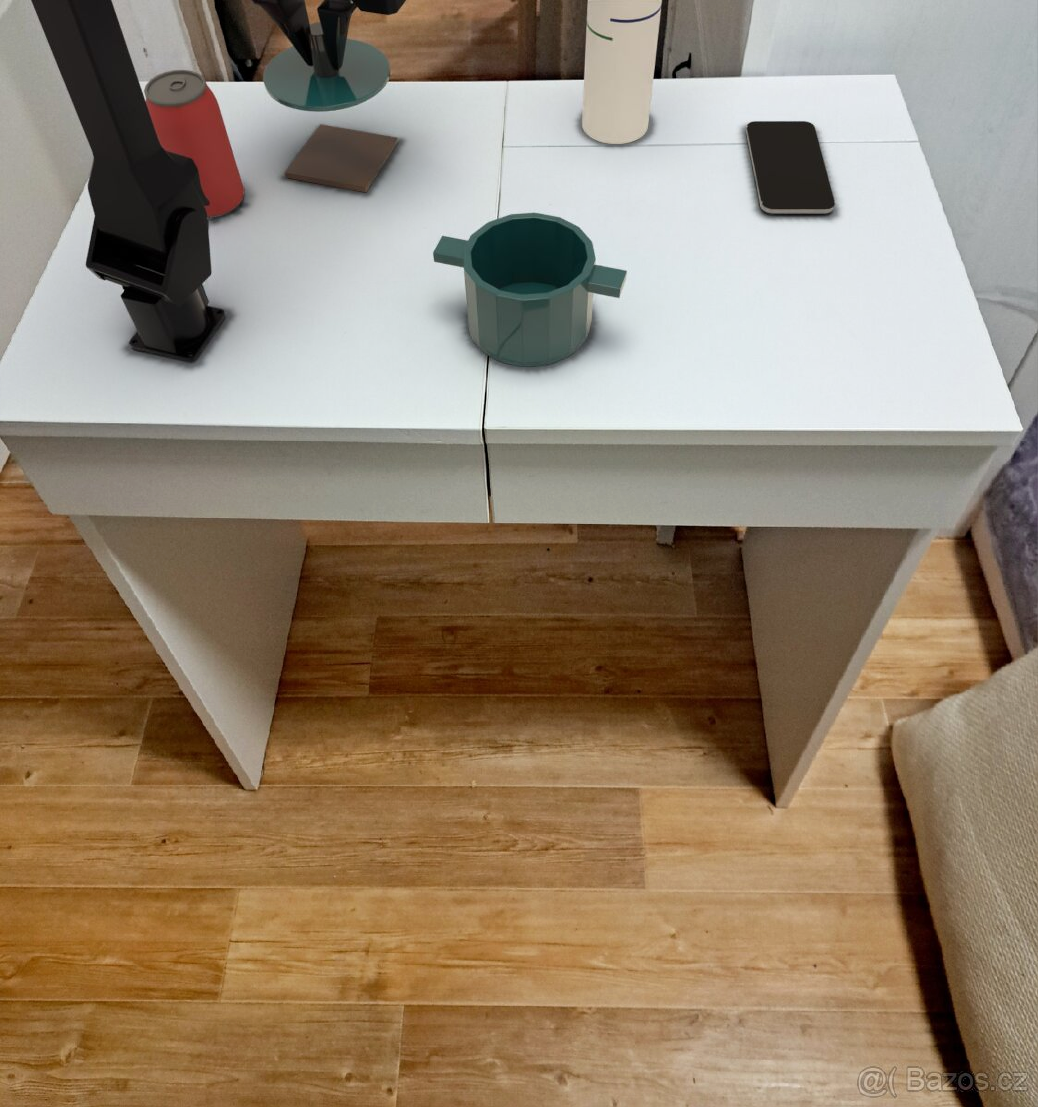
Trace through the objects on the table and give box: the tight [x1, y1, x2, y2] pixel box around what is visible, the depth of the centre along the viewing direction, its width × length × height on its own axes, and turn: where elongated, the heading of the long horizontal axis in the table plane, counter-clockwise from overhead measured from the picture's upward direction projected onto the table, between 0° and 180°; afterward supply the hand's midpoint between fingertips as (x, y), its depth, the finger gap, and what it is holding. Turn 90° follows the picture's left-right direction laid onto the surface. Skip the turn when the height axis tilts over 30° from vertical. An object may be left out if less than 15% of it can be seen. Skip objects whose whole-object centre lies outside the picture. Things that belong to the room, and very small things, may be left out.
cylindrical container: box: [581, 0, 663, 145], centre depth 89 cm, size 7×7×25 cm
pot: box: [432, 212, 628, 367], centre depth 80 cm, size 11×16×8 cm
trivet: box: [284, 124, 399, 193], centre depth 97 cm, size 9×9×1 cm
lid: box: [262, 21, 391, 113], centre depth 88 cm, size 12×12×5 cm
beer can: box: [143, 69, 245, 218], centre depth 89 cm, size 7×7×12 cm
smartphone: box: [745, 120, 836, 215], centre depth 95 cm, size 7×1×15 cm
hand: (325, 66), depth 89 cm, fingers closed on lid, 2 cm apart
